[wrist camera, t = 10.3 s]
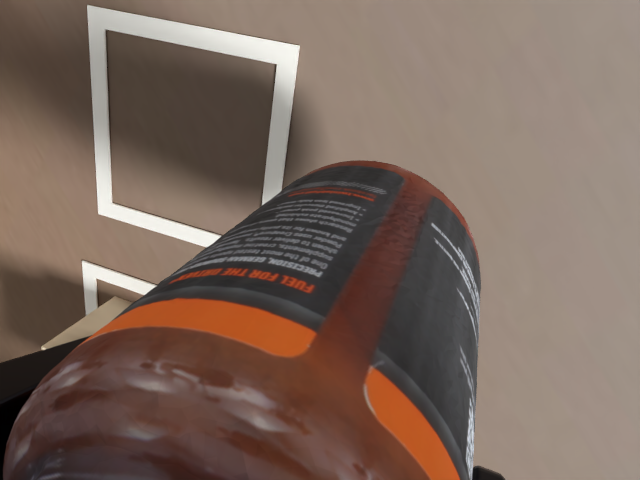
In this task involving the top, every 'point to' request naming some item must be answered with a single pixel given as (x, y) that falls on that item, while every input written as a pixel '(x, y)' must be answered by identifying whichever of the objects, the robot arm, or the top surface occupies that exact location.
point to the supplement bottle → (282, 350)
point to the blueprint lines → (97, 27)
